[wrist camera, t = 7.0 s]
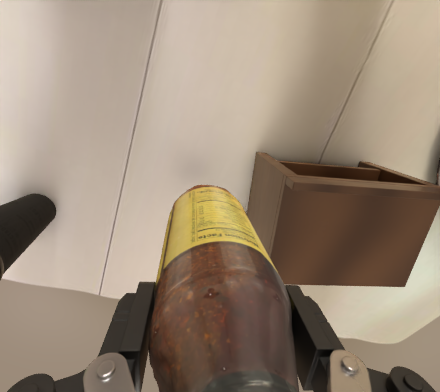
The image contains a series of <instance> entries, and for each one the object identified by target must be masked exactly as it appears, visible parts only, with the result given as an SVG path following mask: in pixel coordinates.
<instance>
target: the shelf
mask: <svg viewBox="0 0 440 392" xmlns="http://www.w3.org/2000/svg"><path fill="white" fill-rule="evenodd" d="M439 206H440V186H438V185H435V184H432V183H429V182H426V181H423V180H420V179H417V178H414V177H411V176H408V175H405V174H402V173H399V172H396V171H394V170H391V169H388V168H385V167H382V166H379V165H376V164H373V163H370V162H362V161H360V163H359V166H358V167H347V166H335V165H324V164H312V163H300V162H288V161H277V160H275V159H274V158H272V157H271V156H269V155H268V154H267V153H260V152H256V158H255V165H254V171H253V178H252V184H251V191H250V198H249V204H248V211H247V217H248V219H249V220H250V222H251V224H252V226H253V228H254V230H255V232H256V234H257V235H258V237H259V239H260V241H261V243H262V245H263V246H264V248H265V250H266V252H267V254H268V256H269V257H270V259H271V261H272V263H273V265H274V266H275V268H276V270H277V272H278V274H279V275H280V277H281V279H282V281H283V283H284V284H291V285H338V286H385V287H405V285H406V283H407V280H408V278H409V276H410V273H411V271H412V269H413V266H414V264H415V262H416V259H417V257H418V255H419V252H420V250H421V248H422V245H423V243H424V241H425V238H426V236H427V234H428V231H429V229H430V227H431V224H432V222H433V220H434V217H435V215H436V213H437V210H438V208H439Z"/></svg>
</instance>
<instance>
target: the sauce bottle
mask: <svg viewBox="0 0 440 392" xmlns="http://www.w3.org/2000/svg"><path fill="white" fill-rule="evenodd" d="M148 350H149V356H150V365H151V367H152V368H153V373H154V378H155V379H156V381H157V384H158V387H159V392H299V387H298V378H297V369H296V359H295V350H294V340H293V331H292V309H291V303H290V299H289V296H288V293H287V290H286V287H285V285H284V283H283V281H282V279H281V277H280V275H279V274H278V272H277V270H276V268H275V266H274V265H273V263H272V261H271V259H270V257H269V256H268V254H267V252H266V250H265V248H264V246H263V245H262V243H261V241H260V239H259V237H258V235H257V234H256V232H255V230H254V228H253V226H252V224H251V222H250V220H249V219H248V217H247V215H246V213H245V211H244V209H243V207H242V206H241V204H240V202H239V201H238V200H237V199H236V198H235V197H234V196H233V195H231V194H230V193H229V192H228V191H227V190H226V189H223V188H220V187H218V186H213V185H197V186H194V187H193V188H191V189H189V190H187V191H186V192H185V193H183V194H182V195H181V196H180V197H179V198H178V199H177V200H176V201H175V203H174V205H173V208H172V210H171V212H170V215H169V219H168V224H167V229H166V234H165V239H164V244H163V249H162V254H161V259H160V265H159V269H158V274H157V280H156V285H155V292H154V311H153V314H152V321H151V325H150V332H149V341H148Z"/></svg>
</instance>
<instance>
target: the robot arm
mask: <svg viewBox="0 0 440 392" xmlns="http://www.w3.org/2000/svg"><path fill="white" fill-rule="evenodd" d="M155 285H156V282H139V285H138V288H137V292H136V293H126V294H125V295H124V296H123V297H122V299H121V300H120V301H119V302H118V305H117V308H116V310H115V313H114V315H113V318H112V322H111V324H110V326H109V329H108V332H107V334H106V337H105V340H104V342H103V345H102V347H101V350H100V353H99V355H98V357H97V358H96V359H95V360H93V361H92V362H91V363H90V364H89V366H88V367H87V368H86V369H85V370H83V371H82V372H80V373H78V374H76V375H73V376H70V377H67V378H63V379H60V380H57V381H54V380H53V378H52V377H51V376H49V375H47V374H34V375H31V376H28V377H26V378H24V379H22V380H21V381H19V382H18V383H16V384H15V385H14V386H12V387H11V388H10V389H9V390H8V391H7V392H141V389H142V383H143V378H144V372H145V367H146V361H147V356H148V341H149V332H150V325H151V321H152V314H153V311H154V292H155ZM285 287H286V290H287V293H288V296H289V299H290V303H291V309H292V331H293V340H294V350H295V359H296V369H297V375H298V377H299V380H300V382H301V385H302V387H303V390H313V391H314V392H436V391H435V390H434V389H433V388H432V387H431V386H430V385H429V384H428V383H427V382H426V381H425V380H424V379H423V378H422V377H421V376H420V375H418V374H417V373H415V372H414V371H412V370H410V369H407V368H404V367H394V368H393V369H392V370H391V372H390V374H386V373H382V372H379V371H376V370H372V369H369V368H366V366H365V364H364V363H363V362H362V361H361V360H360V359H359V358H358V357H357V356H355V355H354V354H352V353H350V352H348V351H346V350H345V349H344V347H343V346H342V344H341V342H340V341H339V339H338V337H337V336H336V334H335V332H334V331H333V329H332V327H331V326H330V324H329V322H327V319H326V318H325V316H324V315H323V313H322V311H321V309H320V308H319V306H318V304H317V303H316V302H314V301H313V300H312V299H311V298H310V297H309V296H304V294H303V293H302V291H301V289H300V287H299V286H297V285H285Z"/></svg>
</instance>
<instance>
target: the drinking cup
mask: <svg viewBox="0 0 440 392" xmlns="http://www.w3.org/2000/svg"><path fill="white" fill-rule="evenodd" d="M55 216H56V208H55V205H54V204H53V202H52V201H51V200H50V199H49V198H47V197H46V196H43V195H40V194H30V195H27V196H24V197H22V198H19V199H17V200H14V201H11V202H9V203H6V204H4V205H1V206H0V280H1V278H2V276H3V274H4V273H5V271H6V270H7V269H8V268H9V267H10V266H11V265H12V264H13V263H14V262H15V261H16V259H17V258H18V257H19V256H20V255H21V254H22V253H23V252H24V251H25V250H26V249H27V247H28V246H29V245H30V244H31V243H32V242H33V241H34V240H35V239H36V238H37V237H38V236H39V234H40V233H41V232H42V231H43V230H44V229H45V228H46V227H47V226H48V225H49V224H50V222H51V221H52V220H53V219H54V218H55Z"/></svg>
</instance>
